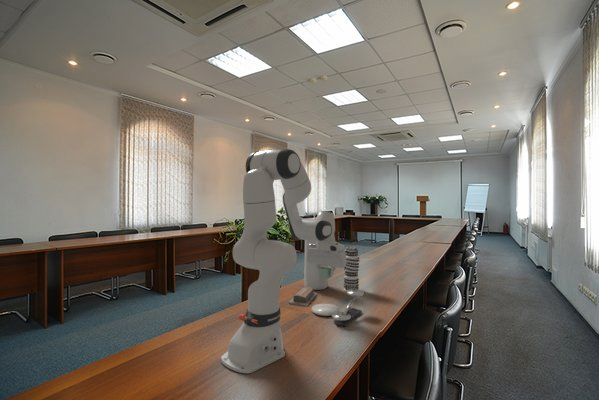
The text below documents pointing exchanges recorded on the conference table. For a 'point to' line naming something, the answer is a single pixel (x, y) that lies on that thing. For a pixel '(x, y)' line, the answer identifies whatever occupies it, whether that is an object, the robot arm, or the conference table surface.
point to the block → (324, 272)
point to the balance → (348, 310)
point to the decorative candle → (351, 269)
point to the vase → (313, 273)
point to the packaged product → (303, 296)
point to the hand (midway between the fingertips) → (325, 274)
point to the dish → (325, 309)
